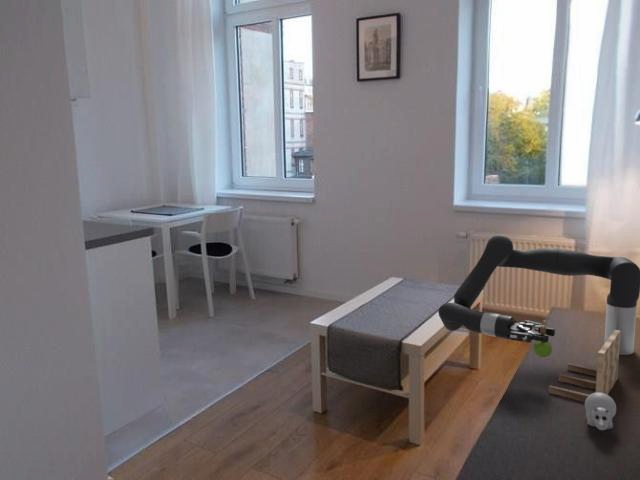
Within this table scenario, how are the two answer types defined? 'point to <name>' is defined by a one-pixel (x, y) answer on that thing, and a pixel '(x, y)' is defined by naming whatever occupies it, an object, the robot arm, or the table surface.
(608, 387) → the lane rack
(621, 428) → the table surface
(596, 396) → the chubby cartoon animal
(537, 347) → the snail figurine
